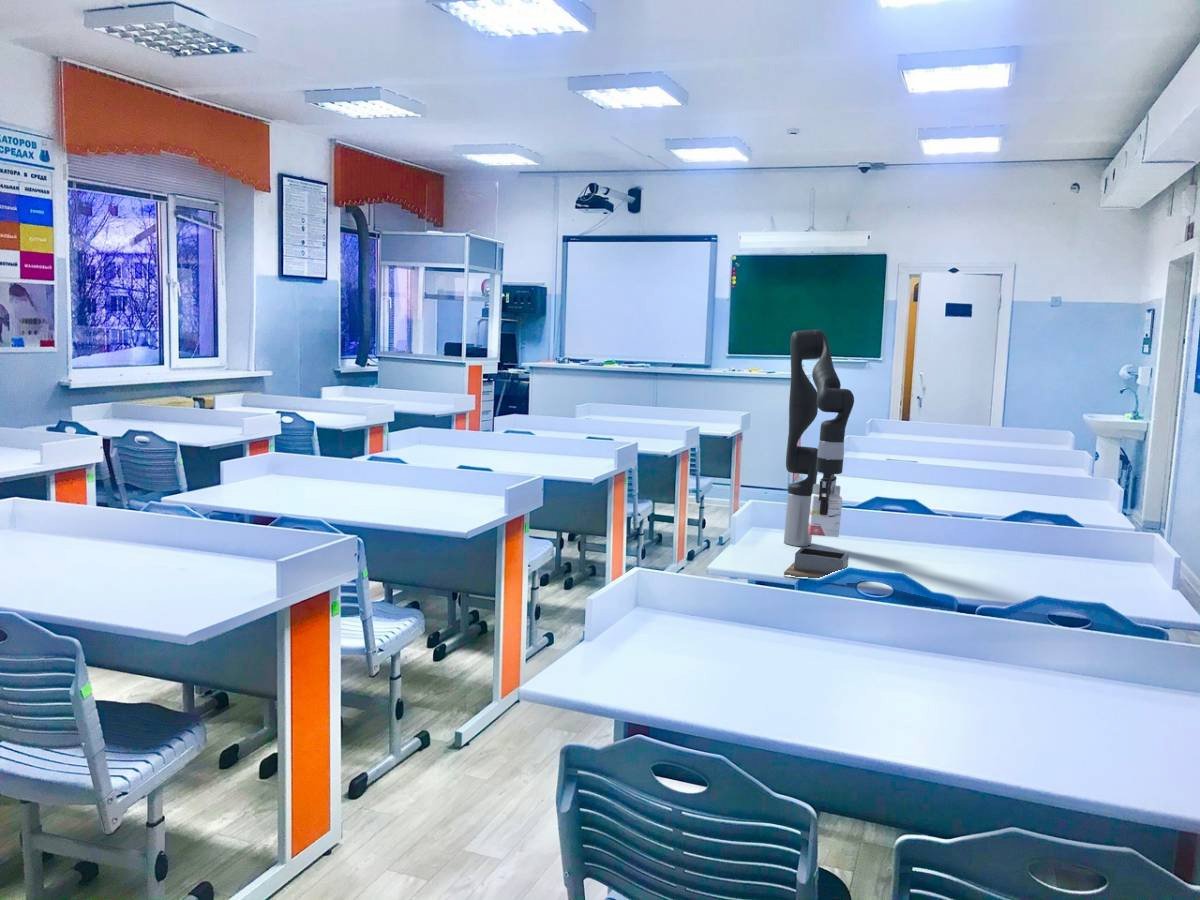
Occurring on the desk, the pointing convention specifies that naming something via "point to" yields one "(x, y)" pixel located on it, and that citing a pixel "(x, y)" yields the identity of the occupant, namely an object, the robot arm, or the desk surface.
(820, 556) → the sleeve
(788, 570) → the base board
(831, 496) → the ink cartridge box
